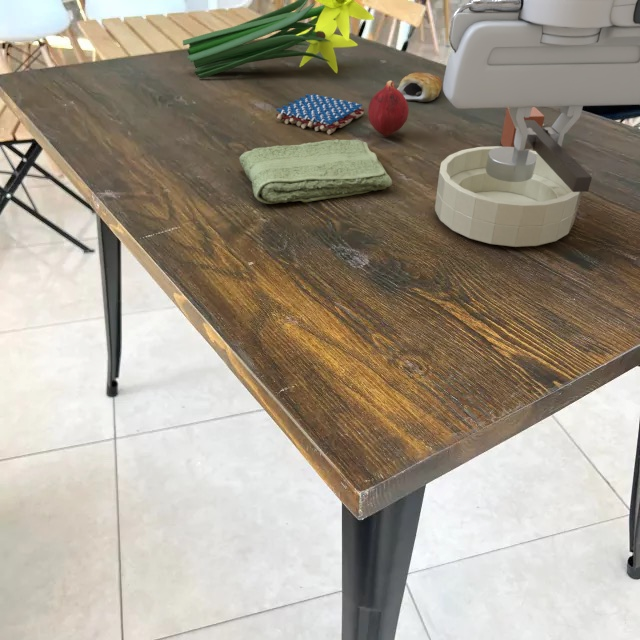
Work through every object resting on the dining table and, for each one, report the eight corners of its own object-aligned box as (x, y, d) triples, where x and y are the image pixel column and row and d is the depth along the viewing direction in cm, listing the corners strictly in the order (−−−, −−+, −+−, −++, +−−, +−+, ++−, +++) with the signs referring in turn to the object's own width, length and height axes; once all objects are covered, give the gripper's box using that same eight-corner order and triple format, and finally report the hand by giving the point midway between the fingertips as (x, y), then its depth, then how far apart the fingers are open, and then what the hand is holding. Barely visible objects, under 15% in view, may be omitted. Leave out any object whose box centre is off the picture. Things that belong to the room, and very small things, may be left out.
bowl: (541, 185, 83) (551, 144, 79) (594, 248, 70) (608, 202, 67) (421, 190, 81) (426, 148, 78) (454, 254, 69) (461, 208, 66)
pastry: (414, 84, 116) (416, 61, 113) (450, 90, 113) (453, 67, 111) (393, 99, 109) (395, 75, 107) (430, 106, 107) (433, 82, 104)
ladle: (479, 163, 74) (489, 105, 70) (523, 162, 75) (535, 104, 71) (539, 246, 60) (555, 178, 56) (593, 243, 60) (613, 176, 56)
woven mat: (331, 136, 96) (331, 123, 94) (273, 122, 100) (273, 109, 99) (366, 116, 103) (367, 103, 101) (311, 103, 107) (310, 91, 106)
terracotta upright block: (526, 142, 94) (534, 106, 91) (536, 153, 91) (544, 116, 88) (500, 143, 94) (506, 106, 91) (509, 154, 91) (516, 116, 88)
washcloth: (396, 193, 81) (398, 168, 79) (257, 211, 77) (256, 186, 75) (361, 153, 91) (362, 130, 89) (237, 167, 87) (235, 144, 85)
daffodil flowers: (201, 62, 129) (372, 10, 125) (211, 121, 124) (389, 69, 120) (167, -5, 114) (360, -67, 110) (176, 60, 108) (379, -3, 104)
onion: (408, 144, 93) (413, 87, 89) (368, 143, 93) (371, 87, 89) (403, 129, 98) (408, 75, 93) (365, 129, 98) (368, 75, 93)
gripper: (464, 5, 53) (443, 163, 62) (699, 3, 55) (647, 157, 63) (445, -10, 58) (428, 138, 67) (660, -11, 60) (618, 133, 68)
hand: (536, 148), depth 65 cm, fingers closed on ladle
